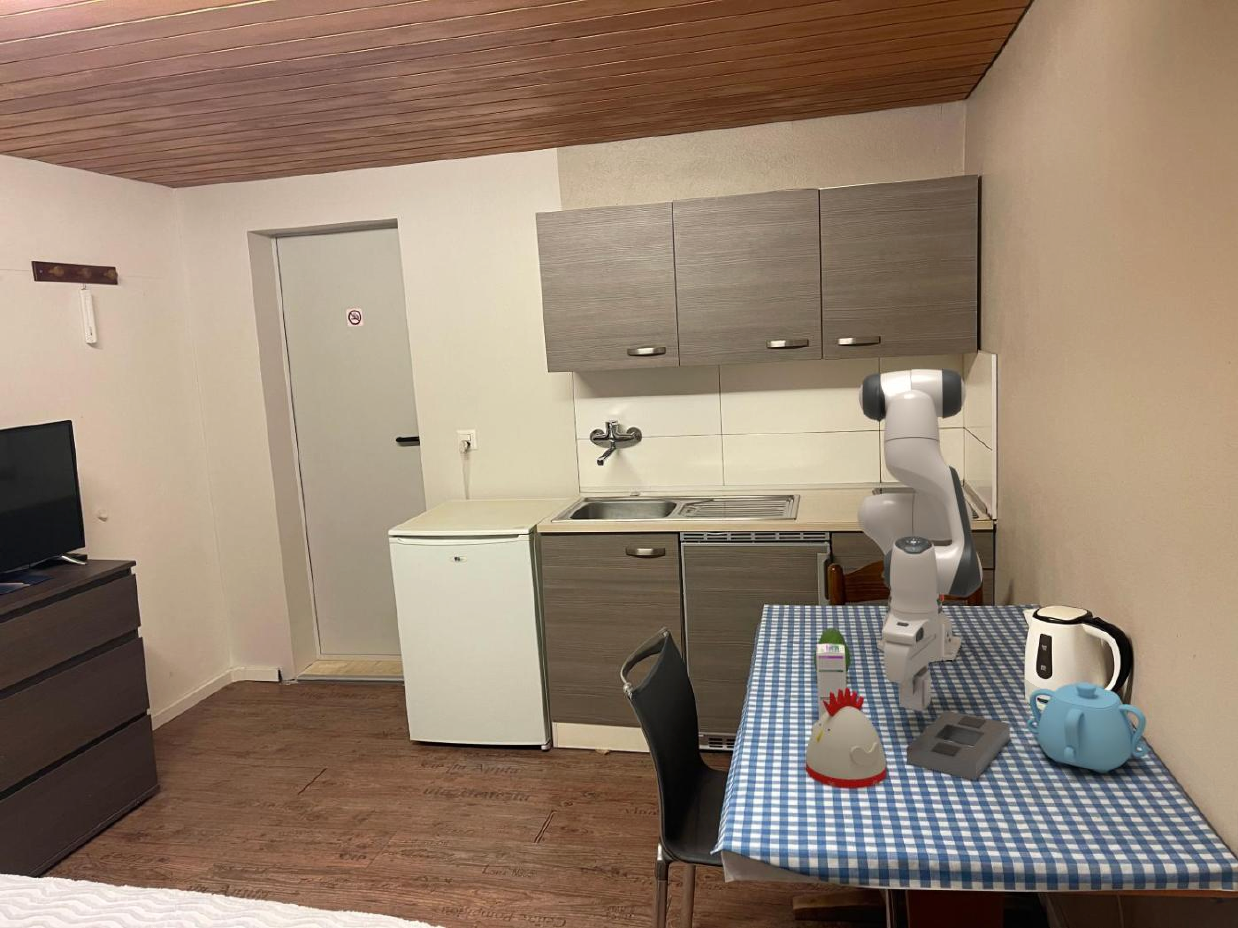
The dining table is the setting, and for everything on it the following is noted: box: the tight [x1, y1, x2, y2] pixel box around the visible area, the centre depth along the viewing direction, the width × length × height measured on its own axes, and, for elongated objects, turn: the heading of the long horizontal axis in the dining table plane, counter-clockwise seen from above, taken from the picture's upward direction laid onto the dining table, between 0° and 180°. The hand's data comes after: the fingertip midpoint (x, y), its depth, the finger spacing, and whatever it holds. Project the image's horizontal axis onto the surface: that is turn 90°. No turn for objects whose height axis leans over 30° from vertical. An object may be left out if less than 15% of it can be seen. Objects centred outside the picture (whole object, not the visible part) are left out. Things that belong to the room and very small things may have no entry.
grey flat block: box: [906, 709, 1011, 782], centre depth 165 cm, size 20×12×3 cm, turn 141°
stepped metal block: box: [898, 668, 932, 712], centre depth 177 cm, size 4×5×7 cm
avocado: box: [813, 627, 851, 674], centre depth 203 cm, size 8×8×12 cm
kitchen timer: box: [805, 686, 887, 789], centre depth 160 cm, size 14×14×15 cm
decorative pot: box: [1026, 681, 1149, 774], centre depth 160 cm, size 16×16×14 cm
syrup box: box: [815, 643, 848, 720], centre depth 182 cm, size 6×6×14 cm
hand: (914, 689), depth 178 cm, fingers closed on stepped metal block, 4 cm apart
